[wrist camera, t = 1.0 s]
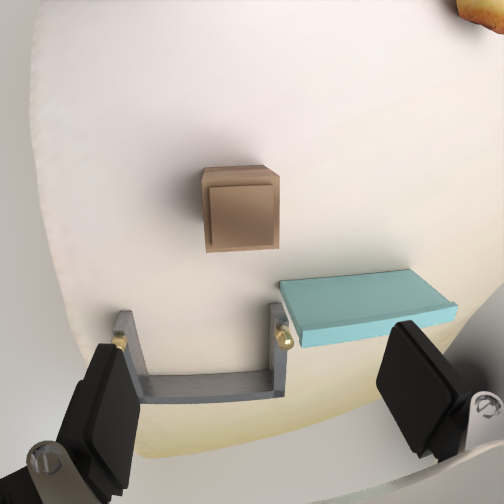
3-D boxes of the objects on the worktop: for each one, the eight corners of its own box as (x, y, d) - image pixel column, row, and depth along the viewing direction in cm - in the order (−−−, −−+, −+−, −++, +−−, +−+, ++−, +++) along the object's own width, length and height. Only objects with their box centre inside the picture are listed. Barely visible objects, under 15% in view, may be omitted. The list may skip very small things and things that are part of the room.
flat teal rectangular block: (280, 278, 30) (303, 331, 22) (411, 267, 32) (458, 305, 24) (280, 292, 31) (301, 347, 23) (409, 280, 32) (453, 320, 24)
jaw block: (205, 167, 26) (200, 180, 19) (263, 165, 27) (281, 177, 20) (208, 224, 28) (205, 256, 21) (264, 221, 28) (280, 251, 21)
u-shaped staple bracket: (120, 311, 30) (105, 343, 25) (282, 302, 32) (294, 334, 26) (140, 382, 34) (133, 416, 29) (279, 375, 35) (288, 409, 30)
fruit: (494, 29, 22) (538, 23, 15) (467, 51, 23) (516, 44, 16) (462, -20, 19) (503, -36, 12) (430, -5, 21) (475, -24, 13)
